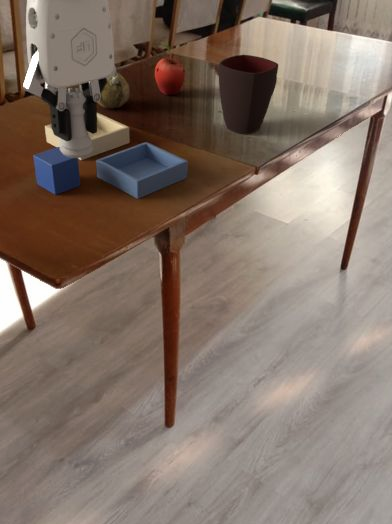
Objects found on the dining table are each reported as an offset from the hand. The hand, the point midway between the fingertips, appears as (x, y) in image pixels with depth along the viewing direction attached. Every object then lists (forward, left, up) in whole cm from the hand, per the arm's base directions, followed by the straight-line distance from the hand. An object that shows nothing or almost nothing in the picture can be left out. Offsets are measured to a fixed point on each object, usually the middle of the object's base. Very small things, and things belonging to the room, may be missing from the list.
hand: (75, 132), depth 82 cm
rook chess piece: (0, 0, -3) cm, 3 cm away
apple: (+49, +33, -15) cm, 60 cm away
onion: (+35, +35, -15) cm, 51 cm away
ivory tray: (+20, +24, -15) cm, 34 cm away
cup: (+49, +10, -15) cm, 52 cm away
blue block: (+6, +14, -15) cm, 21 cm away
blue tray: (+18, +7, -15) cm, 24 cm away
